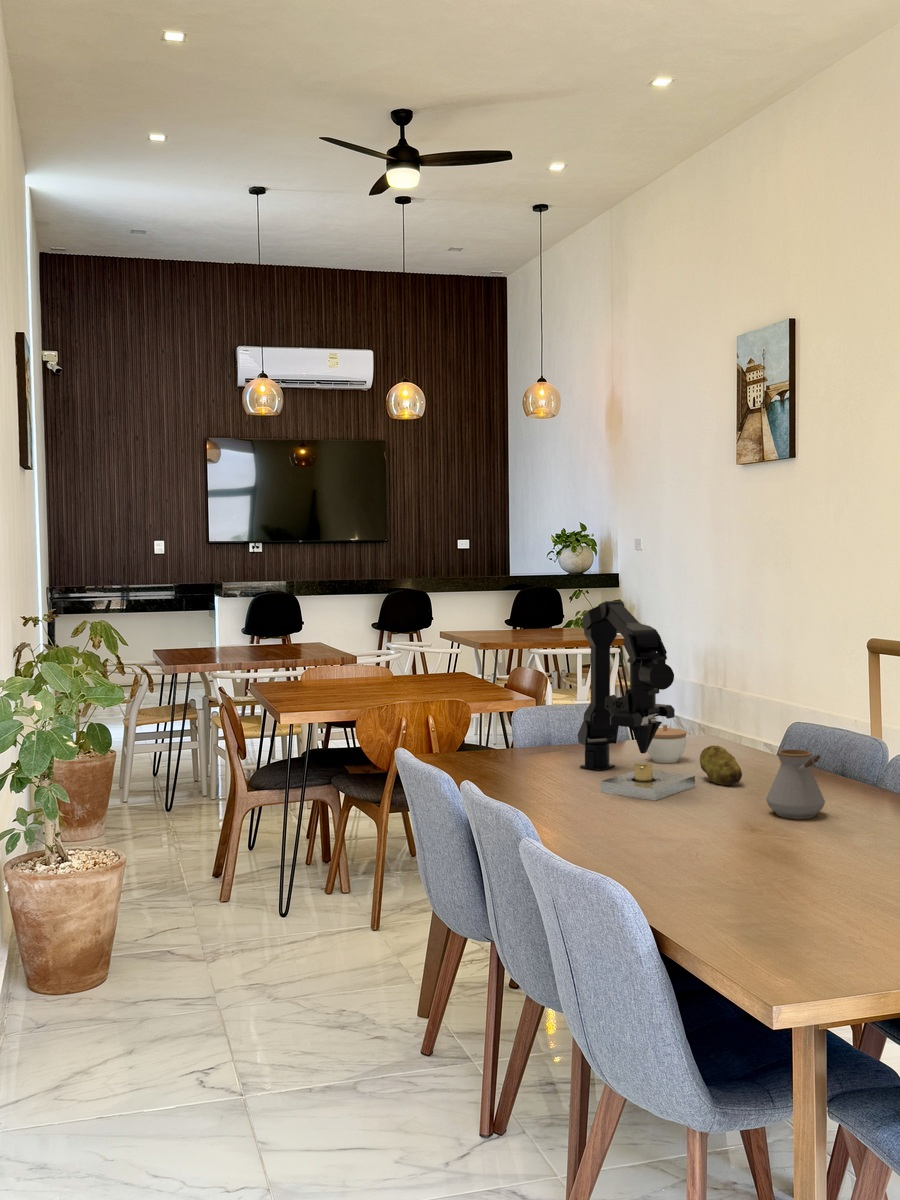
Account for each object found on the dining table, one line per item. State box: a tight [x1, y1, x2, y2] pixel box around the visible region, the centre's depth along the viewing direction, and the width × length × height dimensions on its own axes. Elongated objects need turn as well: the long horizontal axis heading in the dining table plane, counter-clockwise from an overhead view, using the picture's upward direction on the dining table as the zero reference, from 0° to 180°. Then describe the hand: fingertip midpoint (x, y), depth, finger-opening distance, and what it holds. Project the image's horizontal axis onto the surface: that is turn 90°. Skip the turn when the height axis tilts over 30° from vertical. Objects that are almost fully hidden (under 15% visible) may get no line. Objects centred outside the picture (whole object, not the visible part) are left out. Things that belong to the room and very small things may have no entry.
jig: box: [599, 769, 696, 801], centre depth 247 cm, size 18×14×2 cm
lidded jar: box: [646, 724, 687, 764], centre depth 281 cm, size 11×11×9 cm
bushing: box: [633, 762, 653, 783], centre depth 246 cm, size 4×4×6 cm
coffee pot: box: [765, 749, 826, 820], centre depth 217 cm, size 21×12×15 cm, turn 179°
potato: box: [699, 745, 743, 786], centre depth 254 cm, size 8×13×8 cm, turn 178°
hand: (643, 753), depth 246 cm, fingers closed
